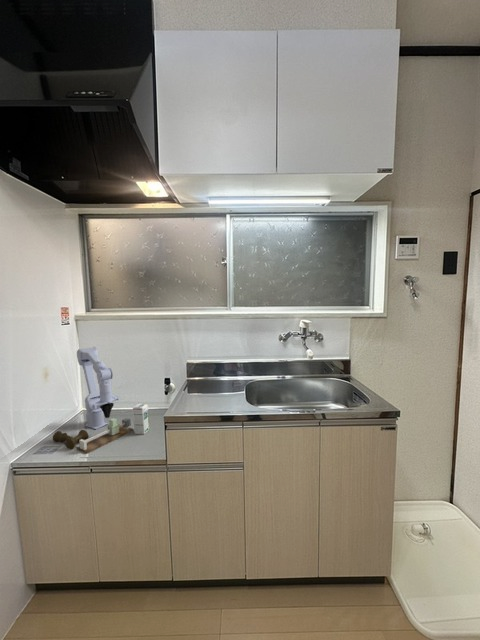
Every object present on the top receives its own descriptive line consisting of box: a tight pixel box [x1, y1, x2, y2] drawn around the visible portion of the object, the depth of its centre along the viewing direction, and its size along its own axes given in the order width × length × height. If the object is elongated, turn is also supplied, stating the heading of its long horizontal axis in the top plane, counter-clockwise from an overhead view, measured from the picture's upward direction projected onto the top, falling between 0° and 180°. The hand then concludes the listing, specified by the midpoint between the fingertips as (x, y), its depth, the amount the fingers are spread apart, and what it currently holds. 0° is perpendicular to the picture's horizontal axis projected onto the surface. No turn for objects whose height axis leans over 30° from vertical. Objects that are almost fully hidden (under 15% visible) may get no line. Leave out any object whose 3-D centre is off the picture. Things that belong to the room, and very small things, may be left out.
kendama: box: [52, 429, 90, 450], centre depth 156 cm, size 6×10×20 cm
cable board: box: [75, 426, 134, 454], centre depth 159 cm, size 27×8×1 cm, turn 149°
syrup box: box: [132, 403, 150, 435], centre depth 167 cm, size 6×6×14 cm
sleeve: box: [107, 418, 120, 435], centre depth 163 cm, size 4×4×7 cm
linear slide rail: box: [79, 417, 132, 450], centre depth 160 cm, size 27×4×5 cm, turn 149°
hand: (107, 417), depth 164 cm, fingers closed
